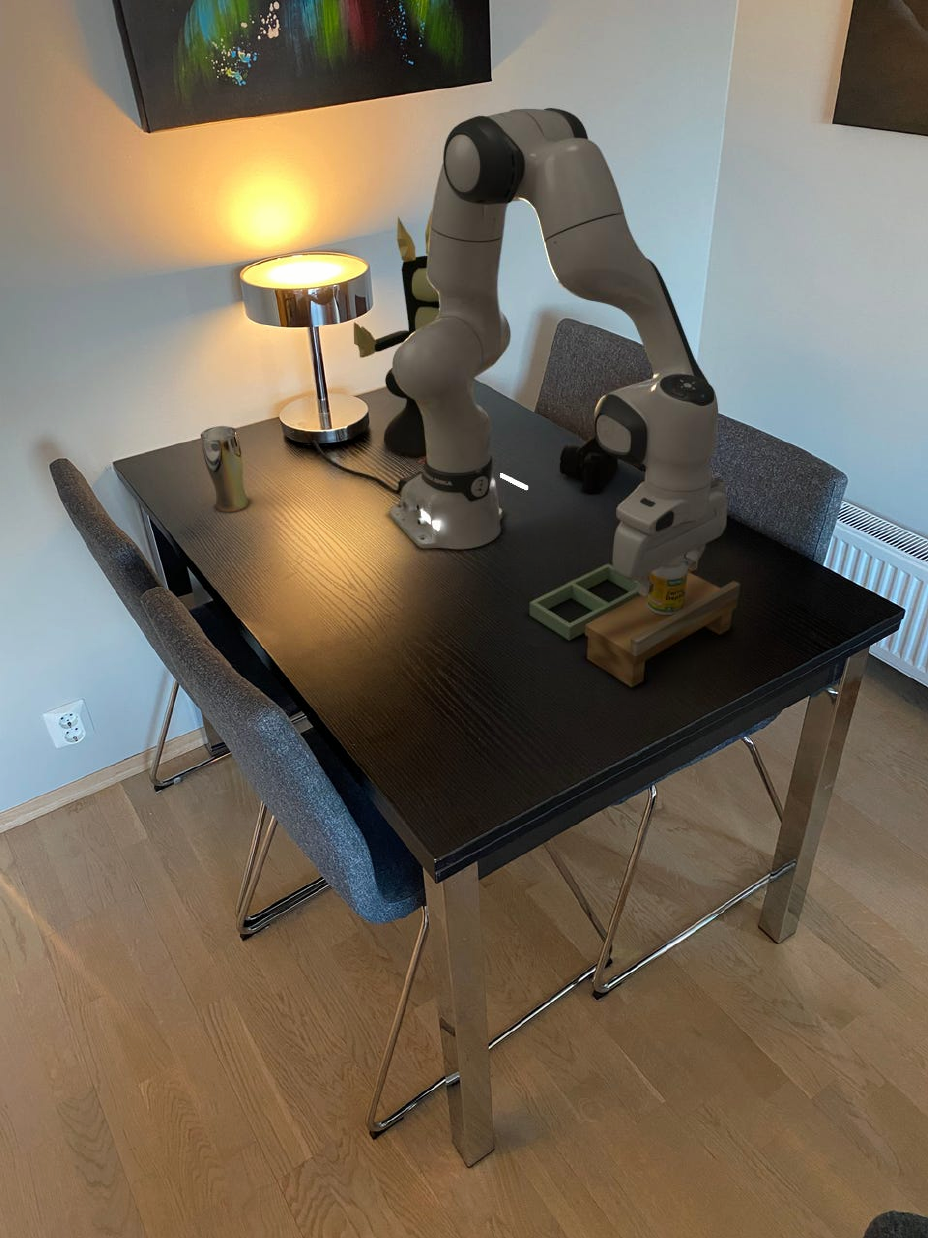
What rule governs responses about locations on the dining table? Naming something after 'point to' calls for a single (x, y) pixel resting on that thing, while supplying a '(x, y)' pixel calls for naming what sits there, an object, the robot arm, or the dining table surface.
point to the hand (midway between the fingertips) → (667, 581)
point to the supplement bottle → (668, 587)
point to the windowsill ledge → (656, 628)
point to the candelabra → (421, 311)
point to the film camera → (588, 464)
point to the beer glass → (225, 467)
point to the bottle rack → (582, 601)
